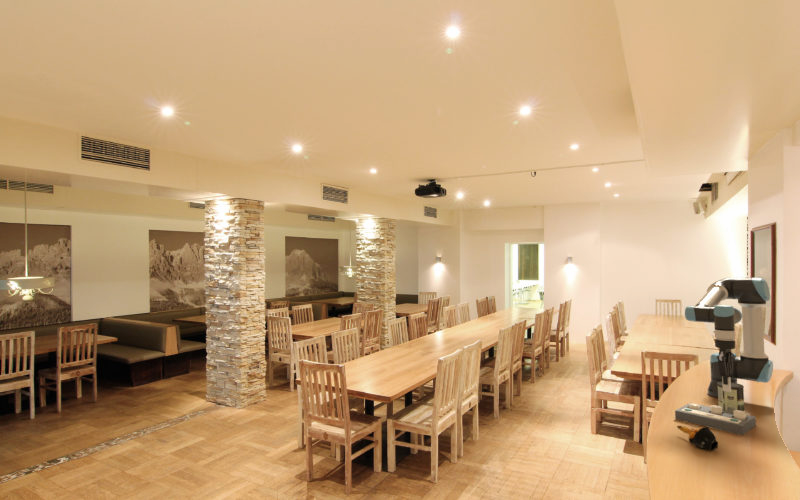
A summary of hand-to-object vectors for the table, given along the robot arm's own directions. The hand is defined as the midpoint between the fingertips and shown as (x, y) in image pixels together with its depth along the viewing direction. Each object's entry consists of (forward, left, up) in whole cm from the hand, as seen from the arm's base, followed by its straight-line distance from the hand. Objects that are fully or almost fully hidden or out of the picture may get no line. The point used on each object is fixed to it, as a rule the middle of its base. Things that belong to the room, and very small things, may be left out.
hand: (726, 391), depth 202 cm
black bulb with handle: (+35, -1, -15) cm, 38 cm away
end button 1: (0, -14, -15) cm, 20 cm away
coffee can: (-17, -4, -15) cm, 23 cm away
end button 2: (0, +4, -13) cm, 14 cm away
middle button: (0, -5, -13) cm, 14 cm away
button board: (+2, -5, -15) cm, 16 cm away
